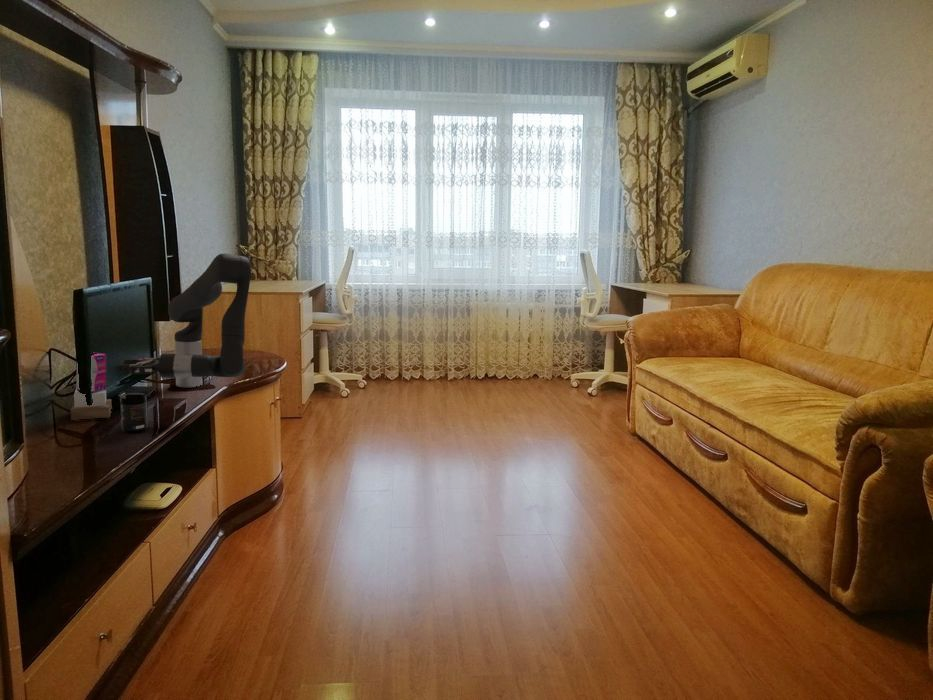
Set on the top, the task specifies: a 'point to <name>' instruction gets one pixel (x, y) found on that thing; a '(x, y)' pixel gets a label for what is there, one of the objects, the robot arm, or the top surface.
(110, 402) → the cream base block
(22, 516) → the top surface
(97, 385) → the supplement box
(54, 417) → the top surface
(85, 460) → the top surface
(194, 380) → the robot arm
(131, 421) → the supplement container
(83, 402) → the pale grey top block
